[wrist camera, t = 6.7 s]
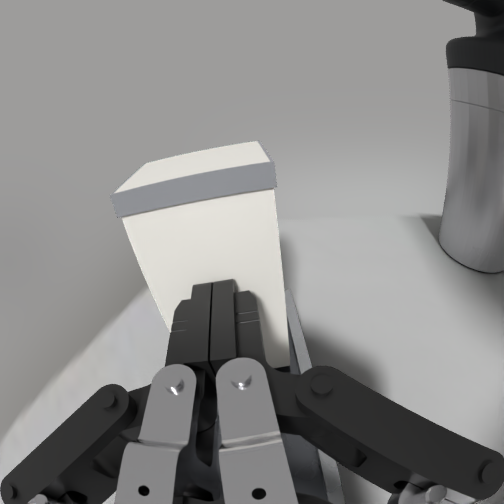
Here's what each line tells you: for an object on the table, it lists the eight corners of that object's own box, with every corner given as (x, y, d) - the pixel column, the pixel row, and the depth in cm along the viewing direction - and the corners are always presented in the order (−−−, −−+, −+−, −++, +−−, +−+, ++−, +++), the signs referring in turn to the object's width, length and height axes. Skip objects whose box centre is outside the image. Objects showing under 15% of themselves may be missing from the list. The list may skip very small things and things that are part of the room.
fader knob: (292, 366, 13) (274, 161, 8) (192, 379, 13) (109, 195, 8) (280, 310, 17) (259, 140, 11) (196, 323, 17) (144, 163, 11)
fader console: (339, 517, 7) (348, 516, 6) (187, 530, 7) (165, 529, 6) (292, 316, 19) (290, 288, 18) (194, 330, 19) (184, 304, 18)
